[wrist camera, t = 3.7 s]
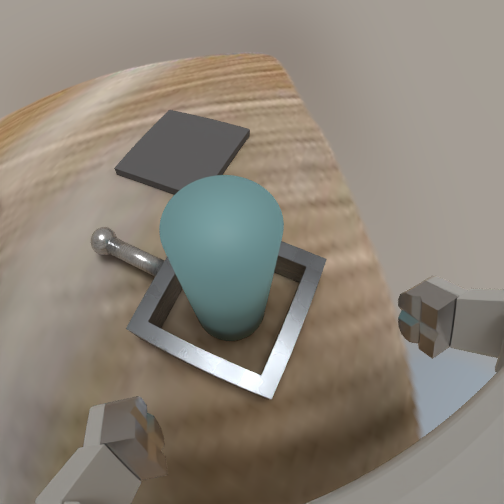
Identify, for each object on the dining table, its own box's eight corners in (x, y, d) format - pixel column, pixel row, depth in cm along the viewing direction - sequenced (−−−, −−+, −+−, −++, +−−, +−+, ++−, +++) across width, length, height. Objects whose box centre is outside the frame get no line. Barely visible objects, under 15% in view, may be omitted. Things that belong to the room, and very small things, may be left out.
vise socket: (71, 295, 19) (54, 282, 17) (133, 201, 23) (124, 182, 21) (267, 399, 17) (271, 399, 15) (317, 275, 21) (326, 259, 18)
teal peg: (185, 323, 19) (136, 249, 10) (215, 266, 21) (197, 162, 12) (247, 351, 18) (253, 301, 9) (274, 291, 20) (300, 197, 11)
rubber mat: (117, 174, 25) (114, 168, 24) (170, 115, 29) (169, 109, 28) (202, 204, 23) (201, 198, 22) (249, 135, 27) (249, 129, 26)
